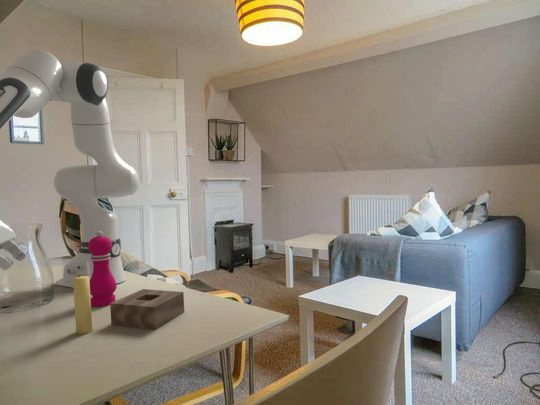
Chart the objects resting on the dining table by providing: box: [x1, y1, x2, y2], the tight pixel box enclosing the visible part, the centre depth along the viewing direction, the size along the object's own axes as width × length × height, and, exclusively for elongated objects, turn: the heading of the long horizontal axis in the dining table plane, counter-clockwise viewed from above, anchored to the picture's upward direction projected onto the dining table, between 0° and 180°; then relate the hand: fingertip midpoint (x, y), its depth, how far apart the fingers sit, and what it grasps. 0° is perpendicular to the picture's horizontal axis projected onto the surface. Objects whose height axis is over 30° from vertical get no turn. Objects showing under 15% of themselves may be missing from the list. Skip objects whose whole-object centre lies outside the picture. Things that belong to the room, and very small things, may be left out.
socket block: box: [109, 288, 185, 330], centre depth 94 cm, size 12×12×5 cm
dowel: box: [73, 276, 93, 335], centre depth 86 cm, size 3×3×12 cm
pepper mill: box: [88, 231, 117, 308], centre depth 106 cm, size 7×7×20 cm
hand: (17, 262), depth 82 cm, fingers open, 8 cm apart
